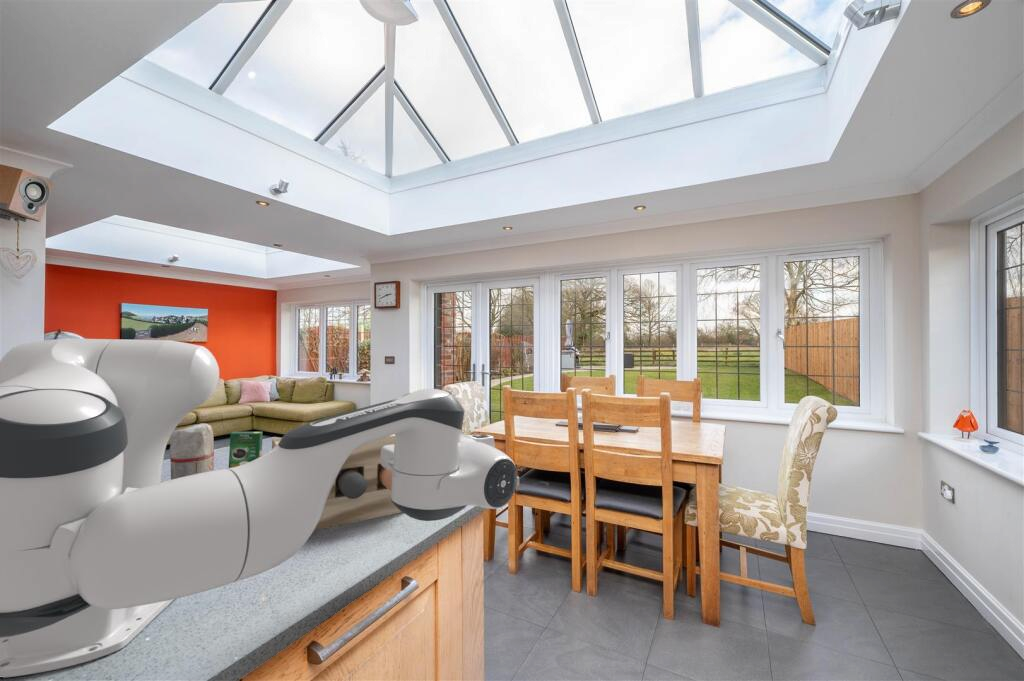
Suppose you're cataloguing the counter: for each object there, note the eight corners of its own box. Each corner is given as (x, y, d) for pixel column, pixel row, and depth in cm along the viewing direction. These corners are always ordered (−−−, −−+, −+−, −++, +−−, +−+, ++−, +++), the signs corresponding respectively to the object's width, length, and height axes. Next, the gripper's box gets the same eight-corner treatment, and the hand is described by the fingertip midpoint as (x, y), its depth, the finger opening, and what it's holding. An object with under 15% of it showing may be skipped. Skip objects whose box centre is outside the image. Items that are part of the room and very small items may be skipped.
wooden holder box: (410, 510, 102) (411, 433, 103) (276, 538, 86) (278, 447, 86) (394, 497, 110) (396, 427, 111) (269, 521, 94) (272, 438, 94)
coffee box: (262, 475, 128) (263, 430, 128) (258, 478, 125) (260, 432, 125) (231, 476, 126) (233, 431, 126) (227, 479, 123) (228, 433, 123)
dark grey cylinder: (366, 496, 92) (367, 472, 93) (342, 500, 90) (343, 476, 90) (359, 490, 97) (360, 467, 97) (336, 494, 94) (337, 470, 94)
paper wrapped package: (190, 522, 93) (193, 429, 94) (159, 518, 95) (162, 426, 95) (223, 508, 102) (226, 422, 102) (194, 504, 103) (197, 420, 104)
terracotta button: (407, 489, 98) (407, 466, 98) (385, 493, 95) (385, 470, 95) (398, 483, 102) (399, 461, 102) (377, 486, 99) (378, 464, 99)
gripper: (394, 487, 70) (368, 467, 81) (500, 468, 82) (464, 452, 93) (395, 448, 70) (369, 433, 81) (501, 435, 82) (465, 423, 93)
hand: (421, 443), depth 87 cm, fingers closed
